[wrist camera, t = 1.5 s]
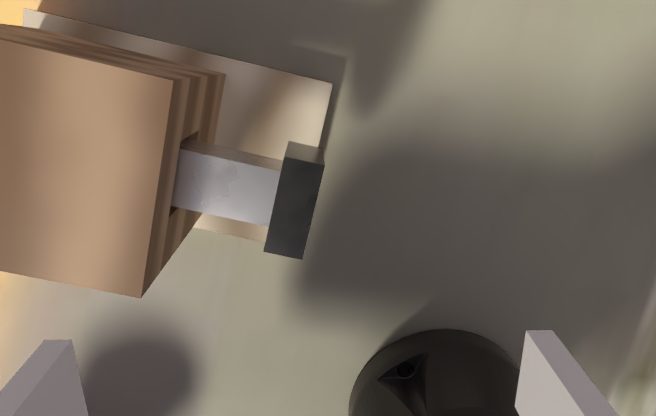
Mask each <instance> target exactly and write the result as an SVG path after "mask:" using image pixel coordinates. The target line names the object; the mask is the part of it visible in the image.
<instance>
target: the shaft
mask: <svg viewBox="0 0 656 416" xmlns="http://www.w3.org/2000/svg"><path fill="white" fill-rule="evenodd" d="M324 167H325V163H324V156H323V148H318V147H314V146H310V145H305V144H301V143H297V142H293V141H288V145H287V148H286V152H285V155H284V159H283V160H279V159H275V158H271V157H266V156H262V155H257V154H253V153H249V152H244V151H240V150H236V149H231V148H227V147H222V146H218V145H214V144H209V143H205V142H201V141H196V140H192V139H187V138H185V139H183V140H182V141H181V142H180V149H179V155H178V161H177V168H176V174H175V180H174V187H173V193H172V199H171V205H170V206H174V207H178V208H183V209H188V210H192V211H197V212H202V213H206V214H211V215H216V216H220V217H225V218H230V219H234V220H239V221H244V222H248V223H253V224H257V225H262V226H267V227H269V228H268V233H267V237H266V242H265V247H264V251H263V252H268V253H273V254H277V255H282V256H287V257H292V258H297V259H301V260H302V258H303V254H304V250H305V246H306V241H307V237H308V233H309V229H310V225H311V221H312V217H313V212H314V208H315V204H316V200H317V196H318V192H319V187H320V183H321V179H322V175H323V171H324Z"/></svg>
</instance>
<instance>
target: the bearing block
mask: <svg viewBox="0 0 656 416" xmlns="http://www.w3.org/2000/svg"><path fill="white" fill-rule="evenodd" d="M332 86H333V84H332V83H329V82H325V81H321V80H317V79H313V78H309V77H305V76H301V75H297V74H293V73H288V72H284V71H280V70H276V69H272V68H268V67H264V66H260V65H256V64H252V63H248V62H244V61H240V60H236V59H231V58H227V57H223V56H219V55H215V54H211V53H207V52H203V51H199V50H195V49H191V48H187V47H183V46H179V45H174V44H170V43H166V42H162V41H158V40H154V39H150V38H146V37H142V36H138V35H134V34H130V33H126V32H122V31H117V30H113V29H109V28H105V27H101V26H97V25H93V24H89V23H85V22H81V21H77V20H73V19H69V18H65V17H60V16H56V15H52V14H48V13H44V12H40V11H36V10H31V9H25V8H24V13H23V27H22V26H15V25H7V24H0V271H4V272H9V273H14V274H19V275H24V276H29V277H34V278H39V279H45V280H50V281H55V282H60V283H65V284H70V285H75V286H80V287H85V288H90V289H96V290H101V291H106V292H111V293H116V294H121V295H126V296H131V297H136V298H142V296H143V295H144V293H145V292H146V291H147V289H148V288H149V287H150V285H151V284H152V282H153V281H154V280H155V278H156V277H157V275H158V274H159V273H160V271H161V270H162V269H163V267H164V266H165V264H166V263H167V262H168V260H169V259H170V258H171V256H172V255H173V253H174V252H175V251H176V249H177V248H178V247H179V245H180V244H181V242H182V241H183V240H184V238H185V237H186V236H187V234H188V233H189V231H190V230H191V229H192V227H194V228H199V229H204V230H209V231H213V232H218V233H223V234H228V235H232V236H237V237H242V238H246V239H251V240H256V241H261V242H266V237H267V233H268V228H269V227H267V226H262V225H257V224H253V223H248V222H244V221H239V220H234V219H230V218H225V217H220V216H216V215H211V214H206V213H202V212H197V211H192V210H188V209H183V208H178V207H174V206H170V205H171V199H172V193H173V187H174V180H175V174H176V168H177V161H178V155H179V149H180V142H181V141H182V140H183V139H185V138H187V139H192V140H196V141H201V142H205V143H209V144H214V145H218V146H222V147H227V148H231V149H236V150H240V151H244V152H249V153H253V154H257V155H262V156H266V157H271V158H275V159H279V160H283V159H284V155H285V152H286V148H287V145H288V141H293V142H297V143H301V144H305V145H310V146H314V147H318V145H319V141H320V137H321V133H322V128H323V124H324V120H325V116H326V111H327V107H328V103H329V99H330V94H331V90H332Z"/></svg>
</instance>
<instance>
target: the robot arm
mask: <svg viewBox="0 0 656 416" xmlns="http://www.w3.org/2000/svg"><path fill="white" fill-rule="evenodd" d="M0 416H88V411H87V407H86V402H85V398H84V393H83V389H82V384H81V380H80V375H79V371H78V366H77V362H76V357H75V352H74V348H73V343H72V340H44V341H43V343H42V344H41V345H40V346H39V347H38V348H37V350H36V351H35V352H34V353H33V354H32V355H31V357H30V358H29V359H28V360H27V361H26V362H25V364H24V365H23V366H22V367H21V368H20V369H19V370H18V372H17V373H16V374H15V375H14V376H13V377H12V379H11V380H10V381H9V382H8V383H7V384H6V386H5V387H4V388H3V389H2V390H1V391H0ZM349 416H618V414H617V413H616V412H615V411H614V409H613V408H612V407H611V405H610V404H609V403H608V402H607V400H606V399H605V398H604V396H603V395H602V394H601V392H600V391H599V390H598V389H597V387H596V386H595V385H594V383H593V382H592V381H591V380H590V378H589V377H588V376H587V374H586V373H585V372H584V370H583V369H582V368H581V367H580V365H579V364H578V363H577V361H576V360H575V359H574V358H573V356H572V355H571V354H570V352H569V351H568V350H567V349H566V347H565V346H564V345H563V343H562V342H561V341H560V339H559V338H558V337H557V336H556V334H555V333H554V332H553V330H526V334H525V341H524V347H523V354H522V361H521V367H520V370H519V369H518V367H517V366H516V364H515V363H514V361H513V360H512V359H511V358H510V356H509V355H508V354H507V353H506V352H505V351H504V350H502V349H501V348H500V347H499V346H497V345H496V344H494V343H493V342H491V341H489V340H487V339H485V338H483V337H481V336H478V335H475V334H472V333H468V332H464V331H458V330H432V331H426V332H421V333H417V334H414V335H410V336H408V337H405V338H403V339H401V340H398V341H396V342H395V343H393V344H391V345H389V346H388V347H386V348H385V349H383V350H382V351H381V352H379V353H378V354H377V355H376V356H375V357H374V358H373V359H372V360H371V361H370V362H369V363H368V364H367V365H366V366H365V368H364V369H363V370H362V372H361V373H360V375H359V377H358V378H357V380H356V382H355V385H354V387H353V390H352V393H351V396H350V401H349Z"/></svg>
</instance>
